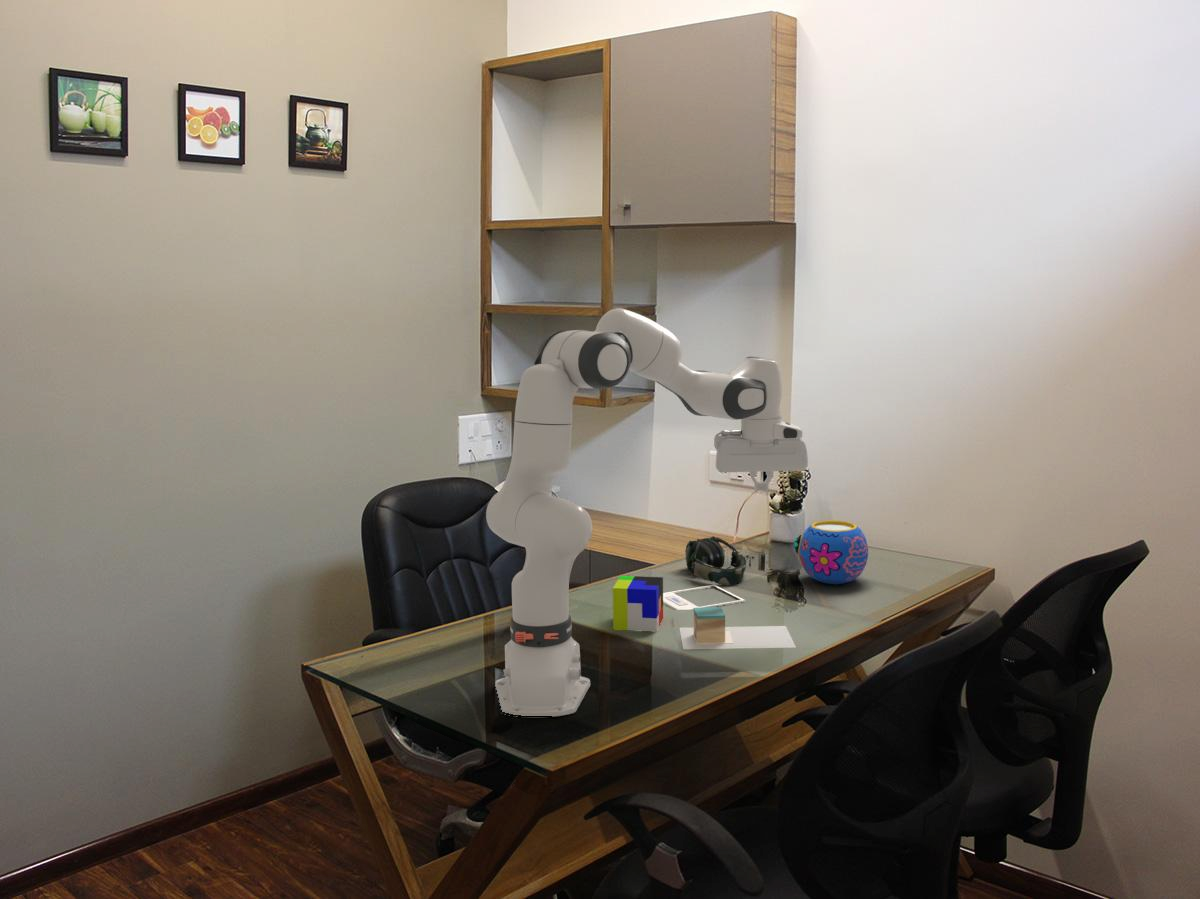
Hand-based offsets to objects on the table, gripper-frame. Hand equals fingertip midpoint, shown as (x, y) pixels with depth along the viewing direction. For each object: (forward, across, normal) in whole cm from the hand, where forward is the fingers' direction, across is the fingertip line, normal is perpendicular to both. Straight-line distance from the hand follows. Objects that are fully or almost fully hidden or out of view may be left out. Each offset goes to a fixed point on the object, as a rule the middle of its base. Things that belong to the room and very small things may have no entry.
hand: (761, 490), depth 245 cm
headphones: (+32, -7, +42) cm, 53 cm away
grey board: (+32, -7, -10) cm, 34 cm away
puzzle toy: (+32, -28, +3) cm, 42 cm away
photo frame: (+32, -13, +21) cm, 41 cm away
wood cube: (+24, -13, -10) cm, 29 cm away
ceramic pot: (+32, +23, +34) cm, 53 cm away
